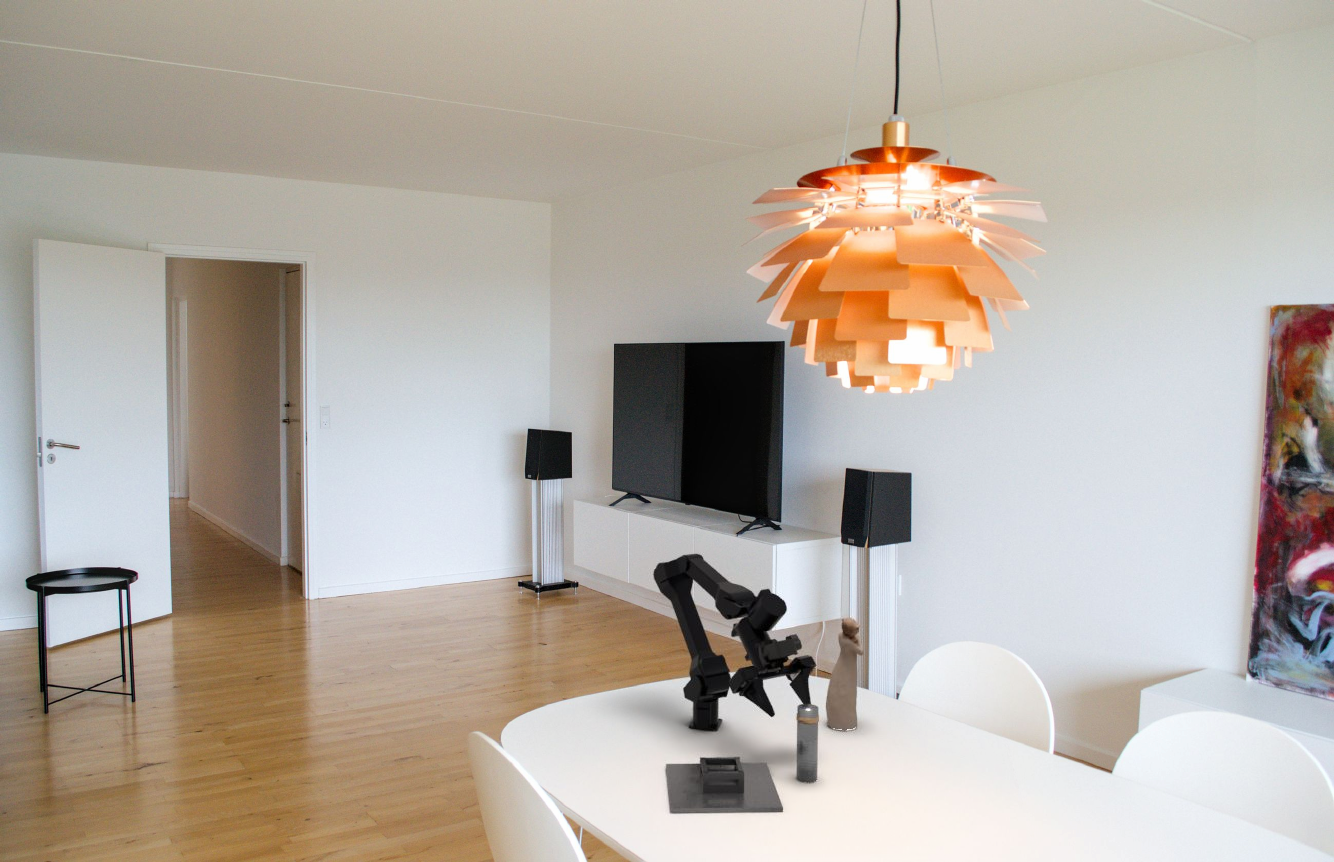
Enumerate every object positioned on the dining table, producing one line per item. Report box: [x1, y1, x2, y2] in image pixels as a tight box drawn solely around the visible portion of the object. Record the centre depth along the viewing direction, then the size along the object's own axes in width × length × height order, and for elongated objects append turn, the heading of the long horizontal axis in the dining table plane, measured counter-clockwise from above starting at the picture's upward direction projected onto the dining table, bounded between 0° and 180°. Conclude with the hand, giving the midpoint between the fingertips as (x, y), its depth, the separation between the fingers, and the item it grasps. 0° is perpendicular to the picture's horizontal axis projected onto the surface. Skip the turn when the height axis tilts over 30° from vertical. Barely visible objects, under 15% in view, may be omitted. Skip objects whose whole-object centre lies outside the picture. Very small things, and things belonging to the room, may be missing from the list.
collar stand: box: [665, 756, 784, 814], centre depth 181 cm, size 20×20×4 cm
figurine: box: [825, 617, 864, 730], centre depth 215 cm, size 8×8×25 cm
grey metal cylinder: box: [795, 703, 820, 784], centre depth 186 cm, size 4×4×14 cm
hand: (791, 711), depth 190 cm, fingers open, 9 cm apart
